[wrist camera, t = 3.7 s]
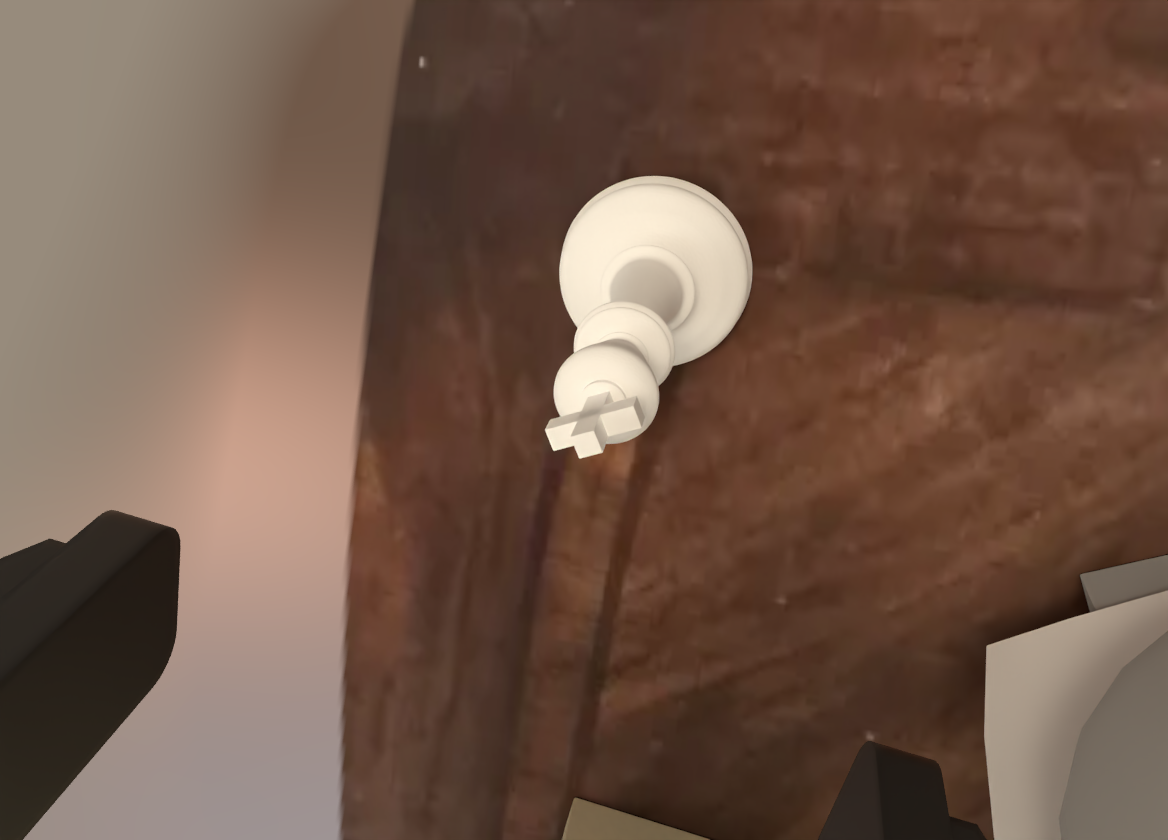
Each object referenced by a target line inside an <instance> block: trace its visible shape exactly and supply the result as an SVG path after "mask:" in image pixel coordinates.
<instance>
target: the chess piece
mask: <svg viewBox="0 0 1168 840" xmlns="http://www.w3.org/2000/svg"><path fill="white" fill-rule="evenodd" d="M559 277H560V287H561V292H562V297H563V300H564V303H565V306H566V308H567V311H568V313H569V315H570V317H571V318H572V320H573V322H574V323H575V325H576V326H577V328H578V329H577V331H576V334H575V339H574V354H572V355H571V356H570V357H569V358H568V359H567V360H566V361H565V362H564V363H563V365H562V366H561V368H560V369H559V371H558V373H557V376H556V379H555V383H554V400H555V404H556V408H557V410H558V413H559V414H560V416H561V417H558V418H554V419H551V420H550V421H549V423H548V425H547V427H546V429H545V432H546V434H547V436H548V439H549V441H550V444H551V446H552V448H553V451H556V450H559V449H563V448H567V447H571V446H574V447H575V449H576V452H577V454H578V457H579V459H580V458H584V457H588V456H592V455H595V454H599V453H603V450H604V448H605V445H606V444H616V443H622V442H626V441H629V440H631V439H633V438H635V437H637V436H638V435H640V434H641V433H642V432H644V431H645V430H646V429H647V428H648V426H649V425H650V424H651V422H652V421H653V419H654V417H655V415H656V413H657V409H658V405H659V388H658V386H659V385H660V384H661V383H662V382H663V381H664V380H665V379H666V378H667V376H668V375H669V373H670V371H671V369H672V366H675V365H679V364H683V363H686V362H689V361H692V360H694V359H696V358H699V357H701V356H702V355H704V354H706V353H707V352H709V351H710V350H712V349H713V348H714V347H716V346H717V345H718V344H719V343H720V342H721V341H722V340H723V339H724V338H725V337H726V336H727V335H728V334H729V332H730V331H731V330H732V328H733V327H734V325H735V324H736V322H737V321H738V319H739V318H740V316H741V314H742V312H743V310H744V308H745V306H746V303H747V300H748V297H749V294H750V290H751V283H752V259H751V253H750V249H749V245H748V242H747V239H746V237H745V234H744V232H743V230H742V228H741V226H740V224H739V223H738V221H737V220H736V218H735V217H734V215H733V214H732V213H731V212H730V210H729V209H728V208H727V207H726V206H725V205H724V204H723V203H722V202H721V201H720V200H718V199H717V198H716V197H715V196H713V195H712V194H711V193H709V192H708V191H706V190H704V189H703V188H701V187H699V186H697V185H694V184H692V183H690V182H687V181H684V180H680V179H677V178H672V177H665V176H644V177H637V178H632V179H628V180H625V181H622V182H619V183H617V184H614V185H612V186H610V187H608V188H606V189H605V190H603V191H601V192H600V193H599V194H597V195H596V196H595V197H593V198H592V199H591V200H590V201H589V202H588V203H587V204H586V205H585V206H584V207H583V208H582V209H581V211H580V212H579V213H578V214H577V216H576V217H575V219H574V220H573V222H572V224H571V226H570V228H569V230H568V232H567V235H566V238H565V241H564V244H563V249H562V254H561V260H560V270H559Z"/></svg>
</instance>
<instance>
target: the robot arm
mask: <svg viewBox="0 0 1168 840" xmlns="http://www.w3.org/2000/svg"><path fill="white" fill-rule="evenodd" d="M179 565H180V538H179V534H178V532H177V531H176V529H174V528H171V527H168V526H164V525H161V524H158V523H155V522H151V521H148V520H145V519H142V518H138V517H135V516H132V515H128V514H125V513H122V512H119V511H114V510H110V511H107V512H105V513H102V514H101V515H100V516H98V517H97V518H96V519H95V520H93V522H91V523H90V524H89V525H87V526H86V527H85V528H84V529H83V530H81V531H80V532H79V533H78V534H77V535H76V536H74V537H73V538H72V539H71V540H70V541H68V542H67V543H62V542H59V541H56V540H53V539H48V540H45V541H43V542H41V543H38V544H36V545H33V546H30V547H28V548H25V549H23V550H20V551H18V552H16V553H13V554H11V555H8V556H6V557H3V558H1V559H0V840H23V839H24V837H25V836H26V835H27V834H28V833H29V832H30V830H31V829H32V828H33V827H34V826H35V824H36V823H37V822H38V821H39V820H40V819H41V818H42V816H43V815H44V814H45V813H46V812H47V810H48V809H49V808H50V807H51V806H52V805H53V804H54V802H55V801H56V800H57V799H58V797H59V796H60V795H61V794H62V793H63V792H64V791H65V790H66V788H67V787H68V786H69V785H70V784H71V782H72V781H73V780H74V779H75V778H76V777H77V775H78V774H79V773H80V772H81V771H82V769H83V768H84V767H85V766H86V765H87V764H88V763H89V761H90V760H91V759H92V758H93V757H94V755H95V754H96V753H97V752H98V751H99V750H100V749H101V747H102V746H103V745H104V744H105V742H106V741H107V740H108V739H109V738H110V737H111V736H112V734H113V733H114V732H115V731H116V730H117V729H118V727H119V726H120V725H121V724H122V723H123V722H124V720H125V719H126V718H127V717H128V716H129V715H130V713H131V712H132V711H133V710H134V709H135V708H136V706H137V705H138V704H139V703H140V702H141V700H142V699H143V698H144V697H145V696H146V695H147V694H148V692H149V691H150V690H151V689H152V688H153V686H154V685H155V684H156V682H157V681H158V679H159V678H160V676H161V675H162V673H163V671H164V669H165V667H166V665H167V663H168V661H169V658H170V656H171V653H172V650H173V646H174V643H175V638H176V631H177V611H178V588H179ZM818 840H986V838H985V837H984V835H983V833H982V832H981V830H980V829H979V827H978V825H976V824H973V823H970V822H967V821H963V820H960V819H957V818H954V817H950V816H949V813H948V807H947V801H946V795H945V789H944V783H943V777H942V773H941V769H940V766H939V764H938V763H937V762H936V761H934V760H931V759H928V758H924V757H921V756H918V755H915V754H911V753H908V752H905V751H901V750H898V749H895V748H891V747H888V746H885V745H881V744H878V743H875V742H872V741H867V742H866V743H865V744H864V745H863V746H862V747H861V749H860V750H859V752H858V754H857V756H856V758H855V761H854V763H853V765H852V767H851V769H850V771H849V773H848V776H847V778H846V780H845V782H844V784H843V786H842V788H841V791H840V793H839V795H838V797H837V799H836V801H835V803H834V806H833V808H832V810H831V812H830V814H829V816H828V818H827V821H826V823H825V825H824V827H823V829H822V831H821V834H820V836H819V839H818Z"/></svg>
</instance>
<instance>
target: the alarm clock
mask: <svg viewBox="0 0 1168 840" xmlns="http://www.w3.org/2000/svg"><path fill="white" fill-rule="evenodd" d="M1080 578H1081V582H1082V585H1083V589H1084V592H1085V596H1086V600H1087V603H1088V607H1089V610H1090V613H1087V614H1083V615H1080V616H1076V617H1073V618H1069V619H1066V620H1063V621H1060V622H1057V623H1054V624H1051V625H1048V626H1045V627H1042V628H1039V629H1036V630H1033V631H1030V632H1027V633H1024V634H1021V635H1017V636H1014V637H1011V638H1008V639H1005V640H1002V641H999V642H996V643H993V644H990V645H987V646H986V685H985V725H984V739H985V749H986V760H987V770H988V780H989V791H990V801H991V811H992V822H993V832H994V840H1168V555H1165V556H1160V557H1156V558H1151V559H1147V560H1142V561H1138V562H1133V563H1129V564H1125V565H1120V566H1116V567H1111V568H1107V569H1102V570H1098V571H1093V572H1089V573H1084V574H1080Z"/></svg>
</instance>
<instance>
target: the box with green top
mask: <svg viewBox="0 0 1168 840" xmlns="http://www.w3.org/2000/svg"><path fill="white" fill-rule="evenodd" d="M562 840H710V839H707V838H704V837H701V836H698V835H694V834H691V833H688V832H685V831H682V830H678V829H675V828H672V827H669V826H666V825H662V824H659V823H656V822H653V821H650V820H646V819H643V818H640V817H637V816H633V815H630V814H627V813H624V812H621V811H617V810H614V809H611V808H608V807H605V806H601V805H598V804H595V803H592V802H589V801H585V800H582V799H579V798H574V800H573V803H572V806H571V810H570V813H569V816H568V819H567V823H566V826H565V830H564V834H563V838H562Z"/></svg>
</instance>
